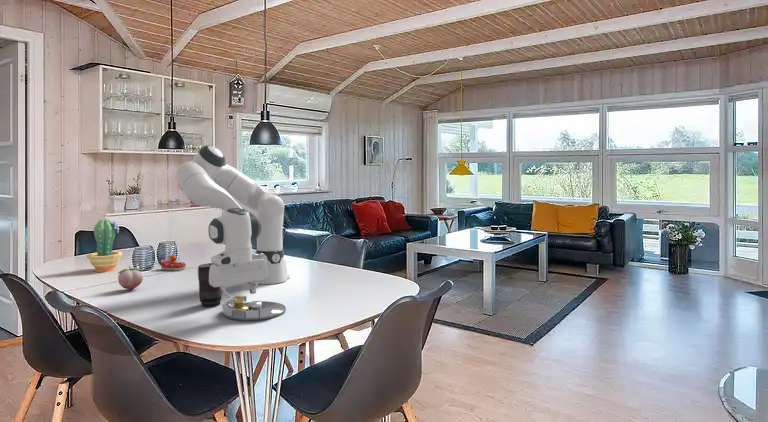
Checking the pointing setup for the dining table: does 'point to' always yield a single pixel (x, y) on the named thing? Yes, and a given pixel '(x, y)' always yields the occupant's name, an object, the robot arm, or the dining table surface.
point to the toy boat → (172, 264)
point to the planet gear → (239, 304)
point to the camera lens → (207, 288)
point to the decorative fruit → (130, 278)
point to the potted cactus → (105, 247)
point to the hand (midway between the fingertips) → (240, 295)
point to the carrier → (253, 310)
